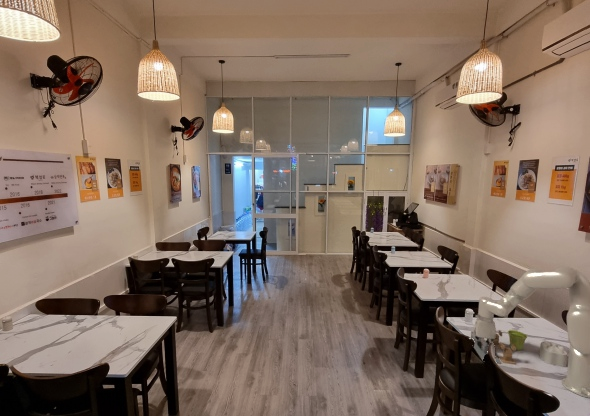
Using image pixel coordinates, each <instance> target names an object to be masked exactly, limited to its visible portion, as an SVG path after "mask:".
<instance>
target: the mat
mask: <svg viewBox="0 0 590 416" xmlns="http://www.w3.org/2000/svg"><path fill="white" fill-rule="evenodd" d="M473 348H474V350H475V352H476V353H477V354H478V356H479V358H480V359H481V360H482V361H483V359H484V355H485V353H484V351H483V350H482V349H481V348H479V346H478V345H477V343H476V342H475V346H474V347H473ZM495 359H496V362H497V363H496V364H502V361H501V360H500V358H499V357H498V356H497V355H496V357H495Z"/></svg>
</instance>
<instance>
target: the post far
mask: <svg viewBox="0 0 590 416" xmlns="http://www.w3.org/2000/svg"><path fill="white" fill-rule="evenodd" d="M496 336H497V339H495V340H493V341H492V342H493V343H494V345H495V347H494V348H496V349H497V348H498V349H502V348H501V343H500V337H503V332H502V330H500V329H498V333H496Z"/></svg>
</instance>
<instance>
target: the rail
mask: <svg viewBox="0 0 590 416" xmlns="http://www.w3.org/2000/svg"><path fill="white" fill-rule="evenodd" d="M473 331H474V330H472V331H470V332H471V333H472V332H473ZM471 333H470V334H471ZM475 335H476V334H475ZM470 338H473V339H474V341H475V342H476V343H477V339H476V338H475V337H474V336H472V335H470ZM488 345H489V344H488V343H487V342H486V338H481V349H482V350H483V351H484V353H485V354H486V353H487V351H488Z"/></svg>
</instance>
